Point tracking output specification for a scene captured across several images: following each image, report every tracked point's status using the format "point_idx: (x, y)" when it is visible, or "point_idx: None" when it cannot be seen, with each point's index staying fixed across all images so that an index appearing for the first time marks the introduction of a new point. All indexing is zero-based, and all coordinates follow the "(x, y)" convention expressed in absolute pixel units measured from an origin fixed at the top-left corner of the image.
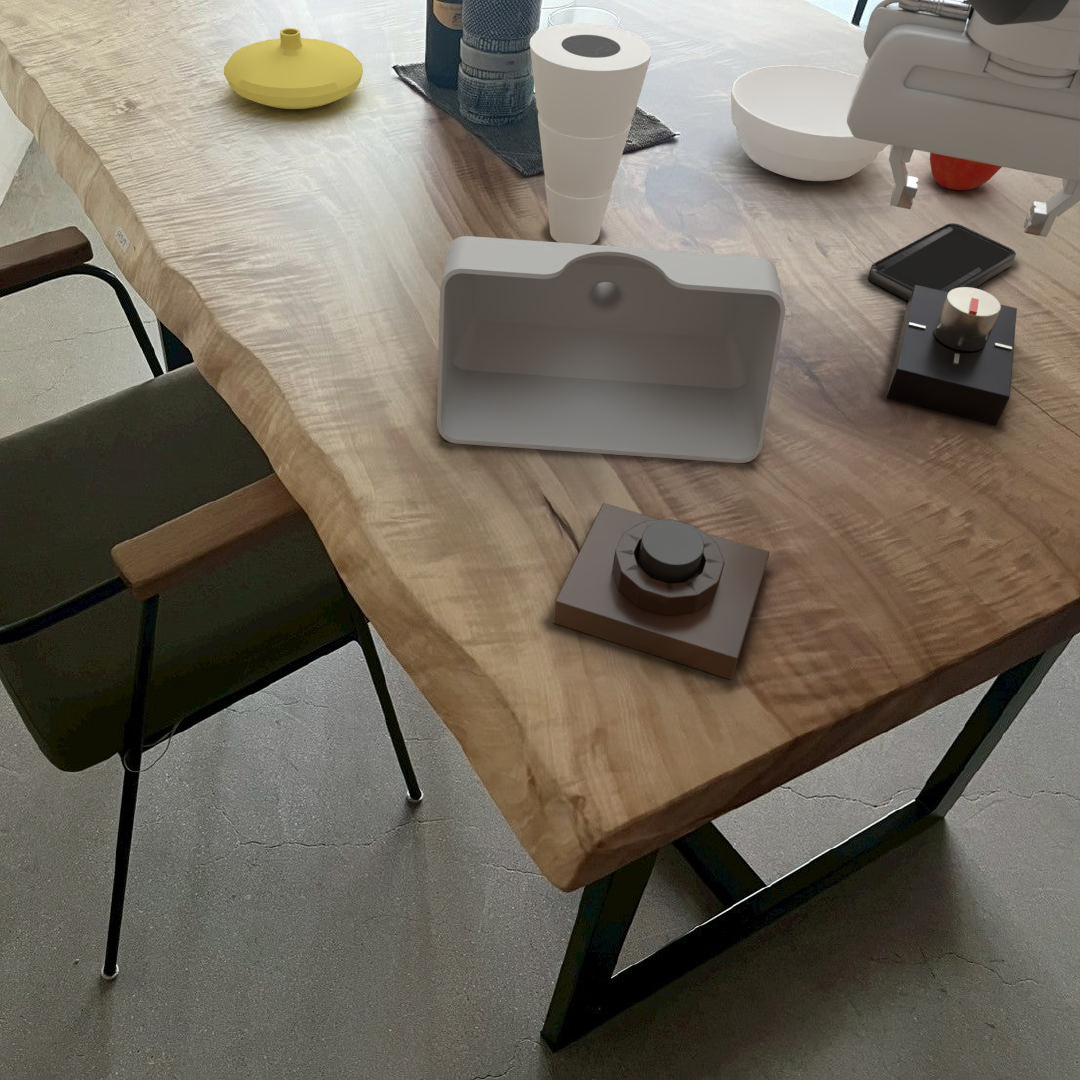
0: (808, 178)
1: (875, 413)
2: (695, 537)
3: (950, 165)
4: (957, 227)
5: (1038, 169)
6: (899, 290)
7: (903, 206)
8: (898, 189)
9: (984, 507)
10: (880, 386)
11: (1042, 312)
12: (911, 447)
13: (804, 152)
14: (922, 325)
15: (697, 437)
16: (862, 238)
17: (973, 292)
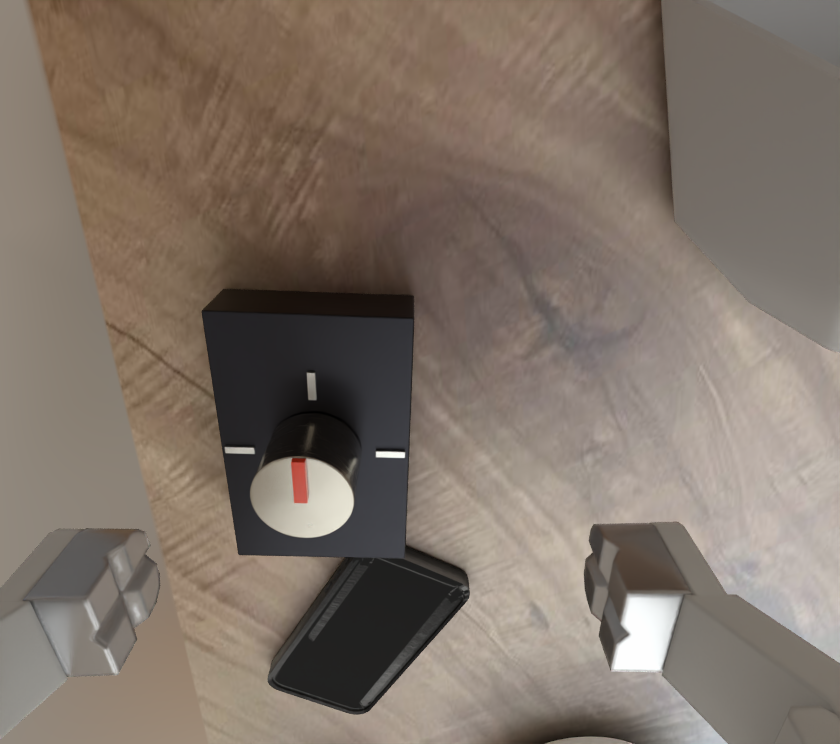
0: (571, 740)
1: (428, 243)
2: None
3: None
4: (354, 708)
5: None
6: (420, 559)
7: (627, 525)
8: (702, 575)
9: (197, 21)
10: (426, 324)
11: (211, 585)
12: (355, 165)
13: None
14: (381, 457)
15: (780, 5)
16: (480, 655)
17: (307, 524)
